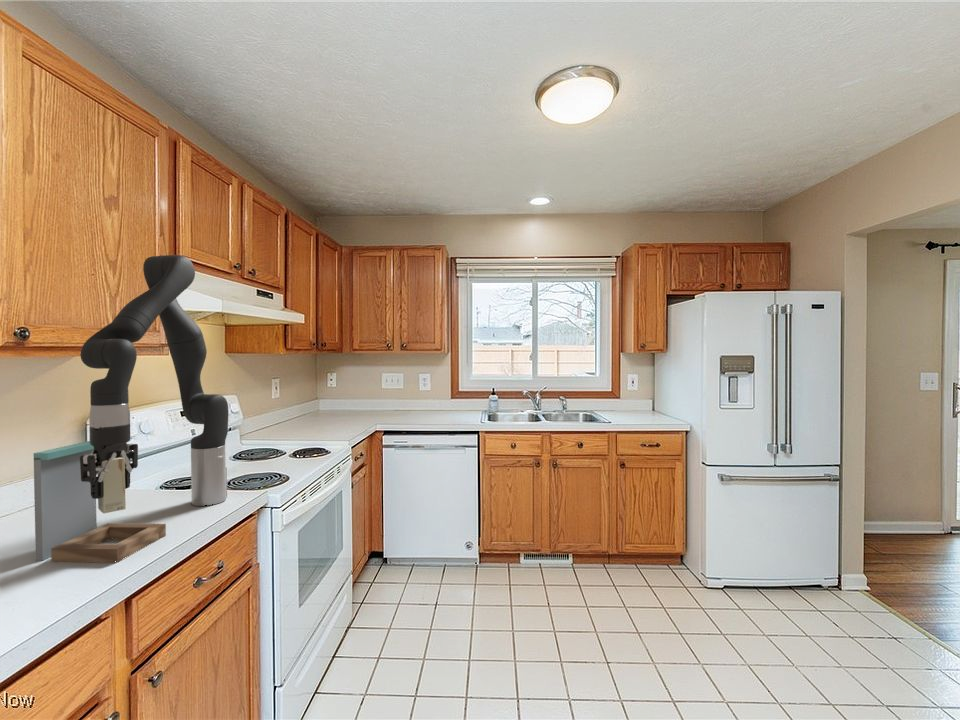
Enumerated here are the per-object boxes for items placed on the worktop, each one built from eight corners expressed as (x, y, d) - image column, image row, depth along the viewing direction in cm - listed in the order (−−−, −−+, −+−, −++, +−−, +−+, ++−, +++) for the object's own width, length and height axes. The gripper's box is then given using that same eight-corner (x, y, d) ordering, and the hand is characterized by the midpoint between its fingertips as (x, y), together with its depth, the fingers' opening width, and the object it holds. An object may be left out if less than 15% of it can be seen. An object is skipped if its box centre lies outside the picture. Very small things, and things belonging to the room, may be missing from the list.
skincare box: (126, 509, 109) (125, 458, 109) (102, 514, 106) (102, 461, 106) (120, 503, 114) (119, 454, 113) (97, 508, 110) (96, 457, 110)
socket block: (108, 535, 118) (107, 523, 118) (165, 535, 117) (165, 523, 117) (51, 561, 103) (51, 548, 103) (117, 562, 102) (117, 549, 102)
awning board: (90, 535, 117) (88, 441, 117) (102, 535, 117) (101, 441, 117) (35, 560, 103) (33, 453, 103) (49, 560, 103) (47, 453, 103)
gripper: (119, 419, 117) (120, 484, 117) (66, 428, 103) (68, 502, 103) (148, 419, 117) (149, 484, 117) (99, 428, 102) (101, 503, 103)
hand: (111, 492), depth 110 cm, fingers closed on skincare box, 7 cm apart
